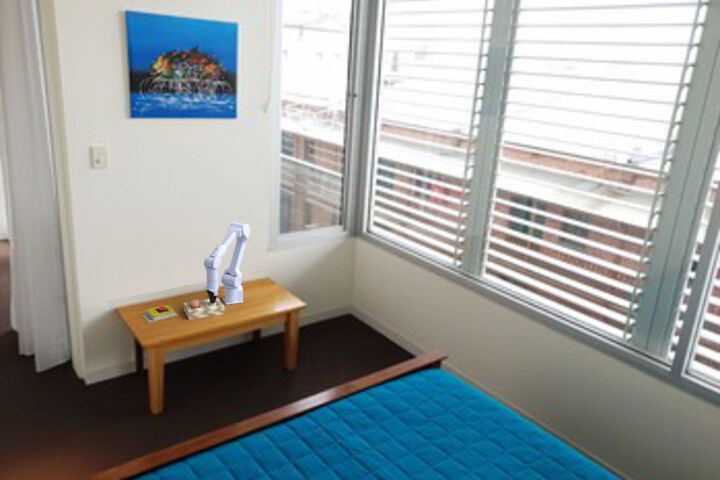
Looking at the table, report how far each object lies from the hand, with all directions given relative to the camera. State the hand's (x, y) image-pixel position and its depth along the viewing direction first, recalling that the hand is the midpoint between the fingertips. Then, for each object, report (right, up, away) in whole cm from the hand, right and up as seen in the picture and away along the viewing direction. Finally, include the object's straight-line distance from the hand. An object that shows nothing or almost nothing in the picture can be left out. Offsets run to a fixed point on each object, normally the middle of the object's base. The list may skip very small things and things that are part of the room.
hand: (212, 303), depth 295 cm
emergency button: (-25, -6, -8) cm, 26 cm away
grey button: (0, -4, +1) cm, 4 cm away
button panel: (-4, -4, -1) cm, 6 cm away
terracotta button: (-8, -2, -4) cm, 9 cm away
